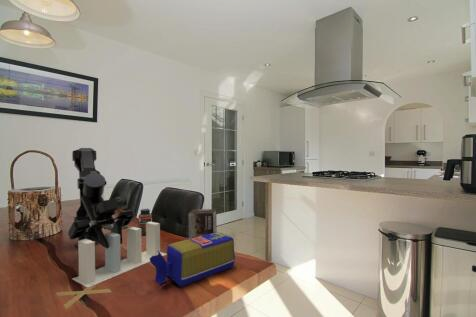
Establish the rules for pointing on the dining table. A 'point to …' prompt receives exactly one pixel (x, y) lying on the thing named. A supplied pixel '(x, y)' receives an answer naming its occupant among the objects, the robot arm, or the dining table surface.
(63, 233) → the dining table surface
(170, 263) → the bread
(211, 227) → the coffee box
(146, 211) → the supplement bottle
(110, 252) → the domino
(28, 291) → the dining table surface
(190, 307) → the dining table surface
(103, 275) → the row mat
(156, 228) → the domino
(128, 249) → the domino
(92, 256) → the domino
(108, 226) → the smartphone
